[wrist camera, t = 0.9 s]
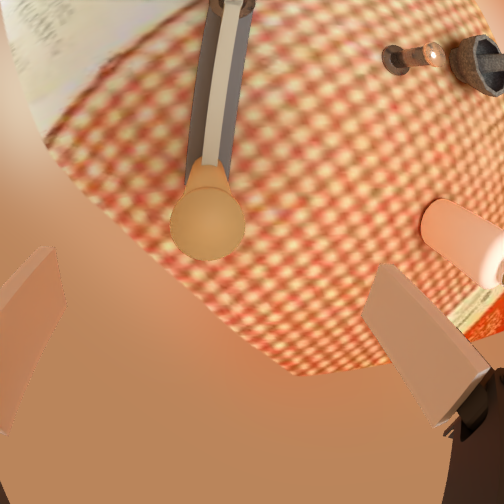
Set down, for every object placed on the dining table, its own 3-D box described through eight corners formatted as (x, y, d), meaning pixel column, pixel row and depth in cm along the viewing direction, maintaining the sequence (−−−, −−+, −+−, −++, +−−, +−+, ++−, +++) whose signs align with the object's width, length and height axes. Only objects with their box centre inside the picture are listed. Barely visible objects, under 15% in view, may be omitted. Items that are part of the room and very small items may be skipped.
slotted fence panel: (210, 13, 24) (217, -73, 8) (248, 17, 24) (289, -63, 9) (187, 186, 32) (168, 258, 17) (224, 189, 33) (240, 262, 17)
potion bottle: (422, 196, 38) (510, 246, 22) (456, 197, 39) (536, 242, 23) (413, 245, 42) (487, 309, 26) (446, 242, 43) (517, 297, 27)
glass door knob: (383, 41, 27) (423, 30, 20) (408, 52, 28) (450, 46, 20) (380, 68, 29) (421, 63, 21) (406, 79, 30) (448, 78, 22)
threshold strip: (211, -6, 23) (211, -7, 22) (254, -1, 24) (255, -2, 23) (184, 184, 33) (184, 185, 33) (227, 187, 34) (227, 188, 34)
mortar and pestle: (454, 99, 32) (513, 107, 21) (433, 43, 27) (491, 37, 17) (487, 82, 30) (539, 89, 20) (469, 33, 26) (521, 31, 15)
